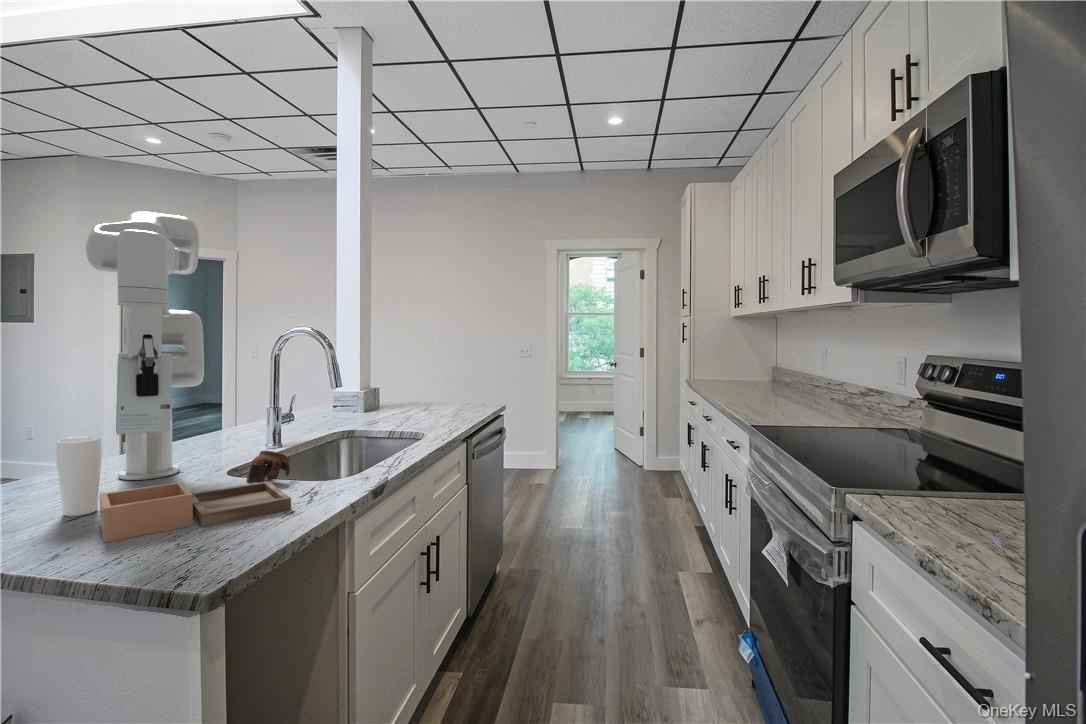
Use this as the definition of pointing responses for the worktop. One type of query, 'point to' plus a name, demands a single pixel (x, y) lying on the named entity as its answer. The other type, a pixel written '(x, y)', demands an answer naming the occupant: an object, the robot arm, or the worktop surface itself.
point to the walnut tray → (238, 503)
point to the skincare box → (142, 398)
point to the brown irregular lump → (267, 466)
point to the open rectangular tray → (145, 510)
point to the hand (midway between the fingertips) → (145, 393)
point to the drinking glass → (79, 474)
